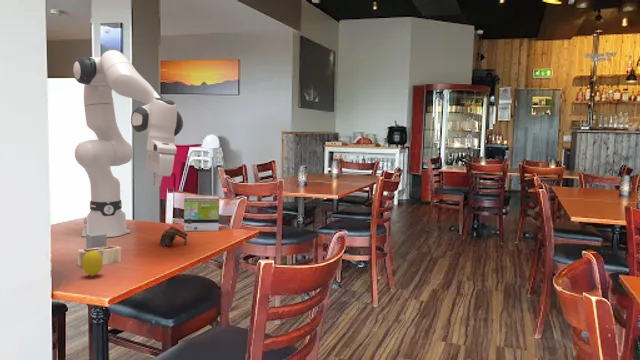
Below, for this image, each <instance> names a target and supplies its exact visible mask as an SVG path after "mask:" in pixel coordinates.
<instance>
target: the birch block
mask: <svg viewBox="0 0 640 360" xmlns="http://www.w3.org/2000/svg"><path fill="white" fill-rule="evenodd" d="M91 250H94V251H96V252H98V253H99V254H100V255H101V257H102V261H103V265H102V266H104V265H106V266H107V265H110V264H111V265H113V264H117V263H122V247H120V246H118V245H116V244H114V245H107V246H105V247H98V248H90V249H86V248H85V249H78V250H77V252H76V253H77V265H78V267H81V268H82V269H83V267H82V261H83V257H84V256H85V254H86V253H88V252H90V251H91Z"/></svg>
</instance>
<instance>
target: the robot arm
mask: <svg viewBox="0 0 640 360" xmlns="http://www.w3.org/2000/svg"><path fill="white" fill-rule="evenodd" d="M72 68H73V70H72V72H73V76H74V79H75V80H76V82H78V83H79V84H81V85H83V107H84V113H85V122H86V126H87V127H88V129H90V130H91V131H93V133H94V134H95V136H96V137H97V139H90V140H89V139H88V140H84V141H82V142H79V143H78V144H77V145H76V147H75V151H74V158H75V161H76V162H77V163H78V164H79V165H80V166H81V167H82V168H83V169H84V170H85V172H86V174H87V176H88V180H89V183H90V198H91V199H90V201H89V213H88V214H87V216H86V217H84V218H83V225H85V226H84V227H83V228H82V231H81V237H85V238H86V234H90V233H98V232H102V233H104V234H106V238H112V237H113V238H114V237H120V236H123V235H125V234H129V233H130V234H131V230H130V229H128V228H127V219H126V218H127V217H126V213H125V212H124V211H123V210H122V208H123V207H122V205H123V203H122V200H121V183H120V180H119V179H118V178H117V177H115V176H114V175H113V172H112V170H111V167H119V166H122V165H125V164H126V165H127V164H128V163H130V162H131V161H132V159H133V157H134V151H133V150H134V149H133V147H132V145H131V144H130V143H129V142H128V141H126V139H125V138H124V137H123V135H122V133H121V132H120V129H119V126H118V123H117V119H116V112H115V105H114V98H113V91H114V92H115V94H118V95H119V96H122V97H124V98H129V99H133V100H136V101H139V102H142V103H143V104H145V105H141V106H137V107H136V108H135V109H134V110H132V113H131V117H130V124H131V127H132V128H133V130H134V131H135V132H137V133H139V134H142V135H147V141H146V142H147V143H146V150H147V156H146V161H145V162H146V163H145V169H146V170H147V171H150V172H152V179H153V180H152V186H155V187H161V185H162V180H163V178H164V177H171V176H172V173H173V170H174V165H175V164H174V163H175V155H176V154H177V151H178V149H177V148H178V147H176V145H175V140H176V136H177V135H179V133H181V131H182V130H183V127H184V121H183V117H182V115H181V114H180V112H179V111H178V110H177V104H176V102H175V101H173V100H171V99H167V98H164V97H163V96H162V95H161V94H160V92H159V91H158V90H157V89H156V88H155V87H154V86H153V85H152V84H151V83H149V82H148V81H147V80H146V79H145V78H144V77H143V76H142V75H141V74H140V73H139V72H138V71H137V69H136V68H135V67H134V65H133V64H132V62H131V60H130V59H128V58H127V56H125V54H123V52H121V51H119V50H117V49H109V50H107V51H105V52H103V53H102V55H101V56H90V57H89V56H82V57H78V58H77V59H75V61H74V62H73V67H72Z"/></svg>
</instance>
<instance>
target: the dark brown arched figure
mask: <svg viewBox="0 0 640 360" xmlns="http://www.w3.org/2000/svg"><path fill="white" fill-rule="evenodd" d="M177 236H178V237H180V238H181V239H183V240H184V242H183V245H184V246H186V244H187V242H188V241H187V239H188V237H187V236H188V233H187V232H186V231H184V230H181V229H179V228H177V227H175V226H173V225H170V227H169V228H167V229H165V230H164V231H163V233H162V234H161V237H160V239H159V245H160V246H161V247H163V248H165V247H166V245H167V246H173V244H174V241H175V239H176V238H177Z"/></svg>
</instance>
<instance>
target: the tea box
mask: <svg viewBox="0 0 640 360" xmlns="http://www.w3.org/2000/svg"><path fill="white" fill-rule="evenodd" d="M183 203H184V204H183V232H191V231H192V232H195V231H199V232H200V231H203V232H205V231H206V232H212V231H213V232H216V231H217V232H218V231H219V229H220V227H219V226H220V198H219V195H205V194H204V195H203V194H202V195H200V194H199V195H196V194H195V195H192V194H191V195H188V194H187V195H186V194H185V195H184V200H183Z"/></svg>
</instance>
